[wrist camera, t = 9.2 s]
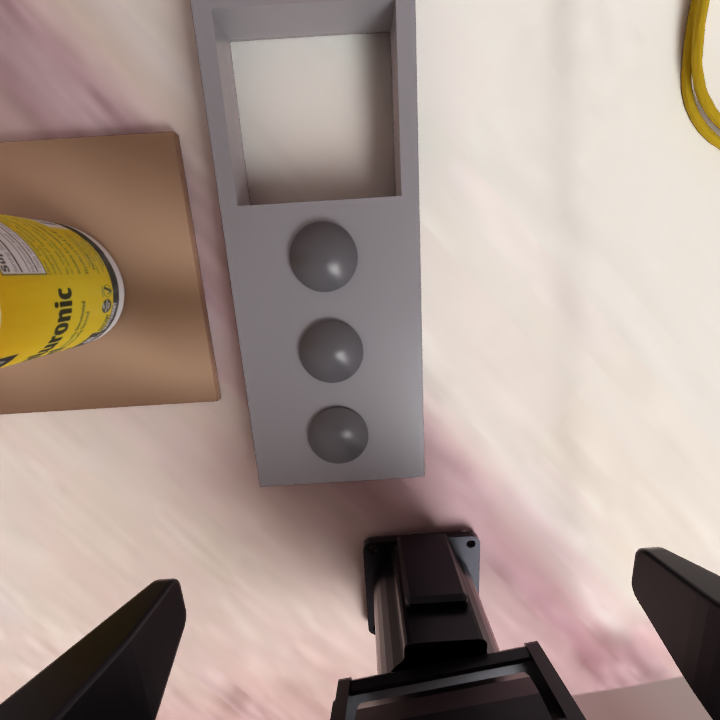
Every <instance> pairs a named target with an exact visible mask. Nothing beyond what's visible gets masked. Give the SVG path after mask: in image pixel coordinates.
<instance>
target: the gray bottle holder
mask: <svg viewBox="0 0 720 720" xmlns="http://www.w3.org/2000/svg"><path fill="white" fill-rule="evenodd" d="M190 1H191V8H192V15H193V22H194V29H195V36H196V43H197V50H198V57H199V64H200V71H201V78H202V85H203V92H204V99H205V106H206V113H207V120H208V127H209V134H210V141H211V148H212V155H213V162H214V169H215V176H216V183H217V190H218V197H219V204H220V211H221V218H222V225H223V232H224V239H225V246H226V253H227V260H228V267H229V274H230V281H231V288H232V295H233V302H234V309H235V316H236V323H237V330H238V337H239V344H240V351H241V358H242V365H243V372H244V379H245V386H246V393H247V400H248V407H249V414H250V421H251V428H252V435H253V442H254V449H255V456H256V463H257V470H258V477H259V484H260V487H267V486H283V485H299V484H316V483H332V482H348V481H365V480H381V479H397V478H414V477H425V472H424V421H423V370H422V319H421V268H420V217H419V166H418V115H417V64H416V13H415V0H190ZM374 32H390V35H391V65H392V94H393V124H394V154H395V183H396V196H389V197H373V198H357V199H341V200H325V201H309V202H293V203H277V204H261V205H250V201H249V193H248V185H247V177H246V169H245V161H244V153H243V145H242V137H241V129H240V121H239V113H238V105H237V97H236V89H235V80H234V72H233V64H232V56H231V48H230V42H232V41H247V40H263V39H279V38H295V37H311V36H327V35H342V34H358V33H374Z"/></svg>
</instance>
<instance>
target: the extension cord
mask: <svg viewBox="0 0 720 720" xmlns="http://www.w3.org/2000/svg"><path fill="white" fill-rule="evenodd" d="M709 1H710V0H691V4H690V9H689V14H688V19H687V25H686V32H685V39H684V46H683V58H682V71H681V87H682V96H683V101H684V105H685V108H686V111H687V113H688V115H689V118H690V120H691V122H692V123H693V125H694V126H695V128H696V129H697V130H698V132H699V133H700V134H701V135H702V136H703V137H704V138H705V139H706V140H707V141H708V142H709V143H711V144H712V145H714V146H715V147H717V148H719V149H720V137H719V136H718V135H717V134H716V133H715V132H714V131H713V130H712V129H711V128H710V127H709V126H708V125H707V124H706V122H705V121H704V119H703V118H702V116H701V115H700V113H699V110H698V108H697V105H696V103H695V100H694V95H693V90H692V79H693V85H694V90H695V93H696V96H697V99H698V102H699V103H700V105H701V107H702V108H703V110H704V111H705V113H706V115H707V116H708V118H709V119H710V120H711V121H712V122H713V123H714V124H715V125H716V126H717V127H718V128H719V129H720V113H719V111H718V110H717V109H716V107H715V105H714V103H713V101H712V99H711V98H710V96H709V94H708V91H707V88H706V85H705V79H704V73H703V68H702V56H703V44H704V32H705V22H706V17H707V11H708V6H709ZM691 75H692V79H691Z"/></svg>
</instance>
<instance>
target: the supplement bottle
mask: <svg viewBox="0 0 720 720" xmlns="http://www.w3.org/2000/svg"><path fill="white" fill-rule="evenodd" d="M124 295H125V293H124V284H123V279H122V276H121V273H120V271H119V269H118V267H117V265H116V263H115V261H114V260H113V258H112V257H111V255H110V254H109V253H108V252H107V250H106V249H105V248H104V247H103V246H102V245H101V244H100V243H99V242H97V241H96V240H95V239H94V238H92V237H91V236H89V235H88V234H86V233H84V232H82V231H80V230H78V229H76V228H73V227H70V226H67V225H63V224H59V223H54V222H47V221H42V220H35V219H28V218H21V217H15V216H8V215H2V214H0V368H3V367H6V366H10V365H14V364H17V363H20V362H24V361H27V360H31V359H35V358H38V357H42V356H45V355H49V354H52V353H56V352H59V351H63V350H66V349H70V348H74V347H77V346H80V345H84V344H86V343H89V342H92V341H94V340H96V339H98V338H100V337H102V336H103V335H105V334H106V333H107V332H108V331H109V330H111V328H112V327H113V326H114V325H115V324H116V322H117V320H118V319H119V317H120V314H121V312H122V309H123V304H124Z"/></svg>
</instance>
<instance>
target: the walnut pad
mask: <svg viewBox="0 0 720 720" xmlns="http://www.w3.org/2000/svg"><path fill="white" fill-rule="evenodd" d="M0 214H2V215H8V216H15V217H21V218H28V219H35V220H42V221H47V222H54V223H59V224H63V225H67V226H70V227H73V228H76V229H78V230H80V231H82V232H84V233H86V234H88V235H89V236H91V237H92V238H94V239H95V240H96V241H97V242H99V243H100V244H101V245H102V246H103V247H104V248H105V249H106V250H107V252H108V253H109V254H110V255H111V257H112V258H113V260H114V261H115V263H116V265H117V267H118V269H119V271H120V273H121V276H122V279H123V284H124V293H125V295H124V304H123V309H122V312H121V314H120V317H119V319H118V320H117V322H116V324H115V325H114V326H113V327H112V328H111V330H109V331H108V332H107V333H106V334H105V335H103V336H102V337H100V338H98V339H96V340H94V341H92V342H89V343H86V344H84V345H80V346H77V347H74V348H70V349H66V350H63V351H59V352H56V353H52V354H49V355H45V356H42V357H38V358H35V359H31V360H27V361H24V362H20V363H17V364H14V365H10V366H6V367H3V368H0V414H15V413H31V412H47V411H63V410H79V409H96V408H112V407H128V406H144V405H161V404H177V403H193V402H209V401H218V400H219V399H220V398H221V396H220V390H219V383H218V377H217V371H216V365H215V359H214V352H213V346H212V340H211V334H210V328H209V321H208V315H207V309H206V303H205V297H204V290H203V284H202V278H201V272H200V266H199V259H198V253H197V247H196V241H195V235H194V228H193V222H192V216H191V210H190V204H189V198H188V191H187V185H186V179H185V173H184V167H183V160H182V154H181V148H180V142H179V136H178V135H177V134H176V133H174V132H157V133H141V134H125V135H109V136H93V137H77V138H61V139H45V140H29V141H13V142H0Z"/></svg>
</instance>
